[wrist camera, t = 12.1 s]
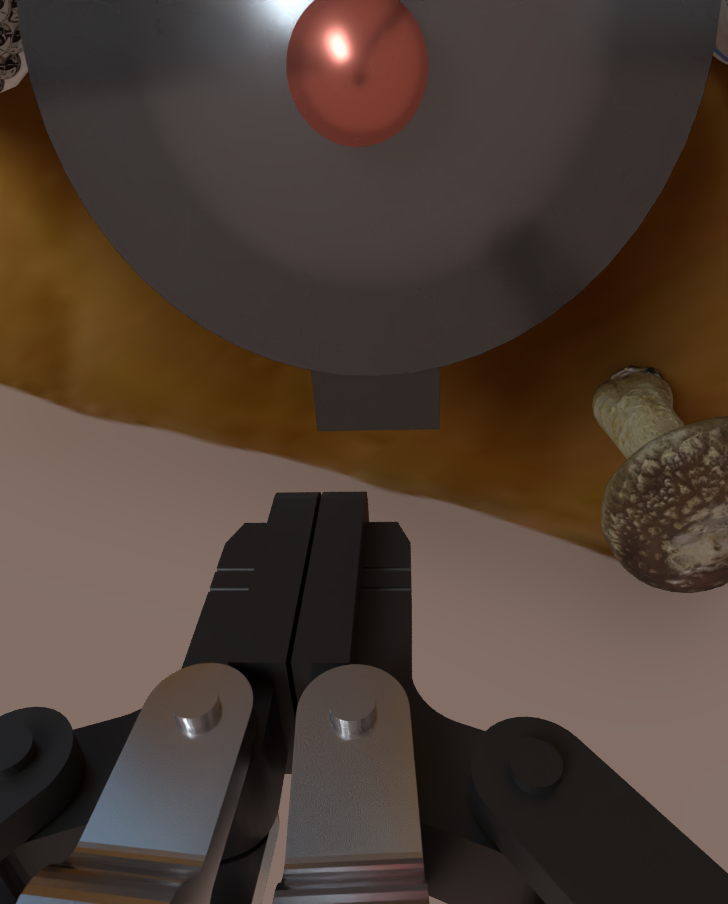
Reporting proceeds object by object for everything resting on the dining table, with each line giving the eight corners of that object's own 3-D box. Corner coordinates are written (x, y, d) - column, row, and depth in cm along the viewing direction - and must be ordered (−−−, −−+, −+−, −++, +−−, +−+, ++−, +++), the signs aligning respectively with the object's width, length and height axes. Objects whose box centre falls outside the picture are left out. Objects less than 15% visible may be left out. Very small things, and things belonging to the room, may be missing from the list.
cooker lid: (798, -492, 16) (880, -599, 13) (633, 411, 28) (657, 453, 25) (-78, -395, 17) (-169, -473, 14) (137, 421, 30) (110, 461, 27)
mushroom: (591, 288, 38) (683, 424, 25) (731, 333, 39) (887, 485, 26) (522, 427, 43) (571, 598, 30) (648, 463, 44) (745, 644, 31)
